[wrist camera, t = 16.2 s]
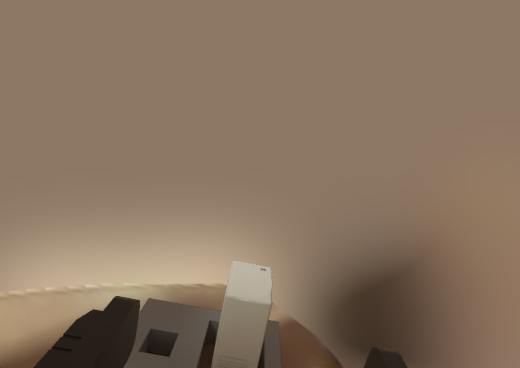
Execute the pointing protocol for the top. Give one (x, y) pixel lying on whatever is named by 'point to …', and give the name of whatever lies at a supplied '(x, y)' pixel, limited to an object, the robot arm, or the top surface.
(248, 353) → the skincare box
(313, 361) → the top surface
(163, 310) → the holder
